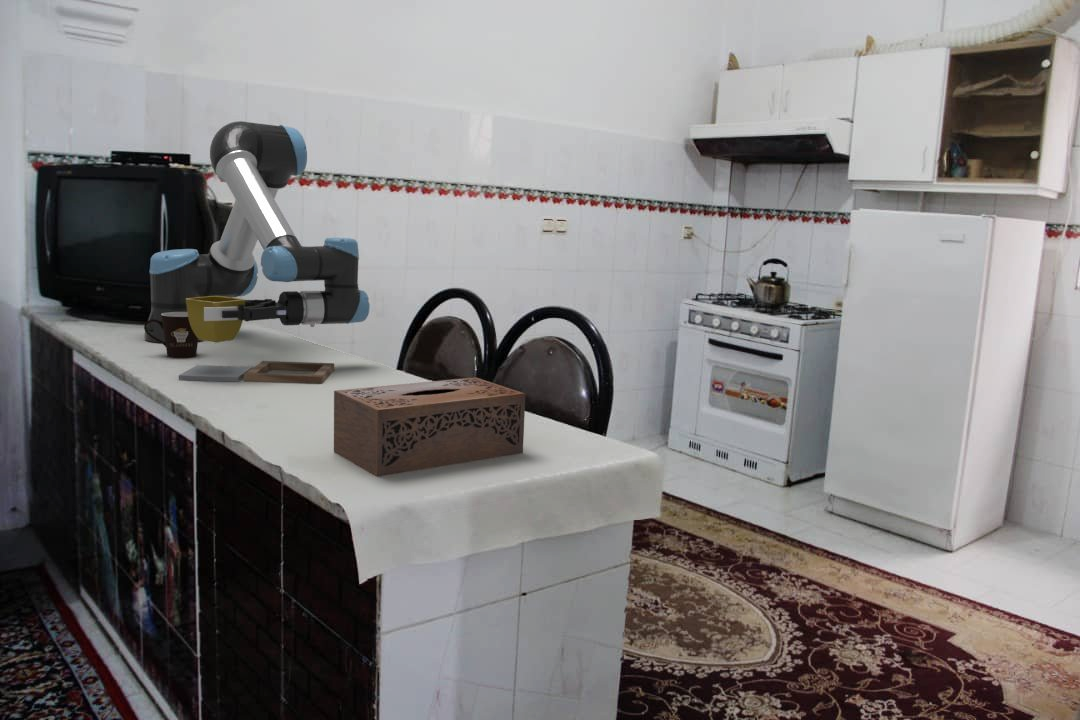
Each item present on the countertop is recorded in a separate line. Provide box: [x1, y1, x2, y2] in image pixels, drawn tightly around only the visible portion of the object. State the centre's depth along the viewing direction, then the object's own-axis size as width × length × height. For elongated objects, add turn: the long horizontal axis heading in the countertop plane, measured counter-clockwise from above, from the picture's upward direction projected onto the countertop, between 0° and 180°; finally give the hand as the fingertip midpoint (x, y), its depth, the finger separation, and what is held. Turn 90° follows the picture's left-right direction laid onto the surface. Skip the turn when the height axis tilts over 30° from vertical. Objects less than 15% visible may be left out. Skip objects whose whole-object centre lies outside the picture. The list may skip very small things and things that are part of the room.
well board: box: [243, 360, 335, 385], centre depth 194 cm, size 16×16×2 cm
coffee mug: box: [143, 312, 199, 359], centre depth 210 cm, size 12×9×10 cm
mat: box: [178, 364, 254, 383], centre depth 190 cm, size 12×12×1 cm
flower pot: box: [186, 296, 247, 343], centre depth 188 cm, size 9×9×9 cm
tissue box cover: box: [333, 377, 526, 478], centre depth 139 cm, size 26×14×10 cm, turn 127°
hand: (197, 310), depth 185 cm, fingers closed on flower pot, 11 cm apart
